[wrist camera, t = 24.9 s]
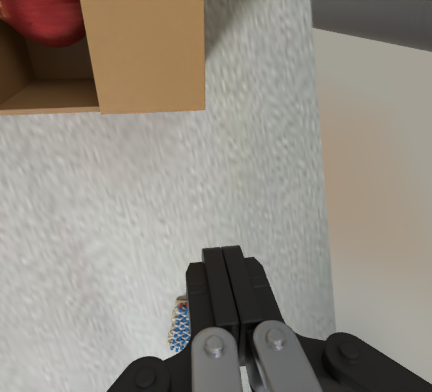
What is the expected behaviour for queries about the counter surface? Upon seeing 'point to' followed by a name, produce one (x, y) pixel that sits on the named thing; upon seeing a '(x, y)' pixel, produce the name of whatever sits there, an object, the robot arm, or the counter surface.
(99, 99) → the flap
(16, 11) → the onion
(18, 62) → the carton
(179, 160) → the counter surface
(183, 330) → the woven mat
